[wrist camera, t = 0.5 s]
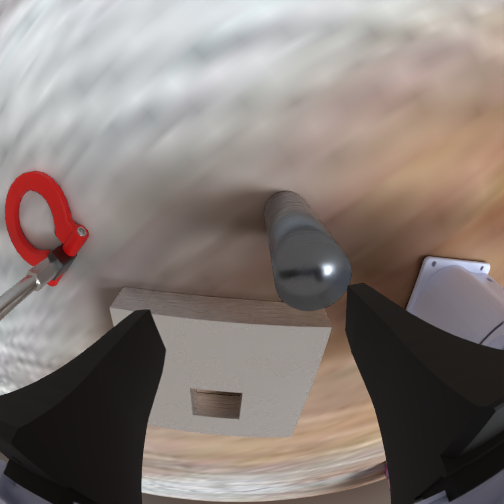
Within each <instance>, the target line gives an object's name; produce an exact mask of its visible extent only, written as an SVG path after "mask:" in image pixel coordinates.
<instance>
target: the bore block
mask: <svg viewBox="0 0 504 504" xmlns="http://www.w3.org/2000/svg"><path fill="white" fill-rule="evenodd" d="M145 309H150V311H151V314H152V316H153V319H154V322H155V324H156V327H157V329H158V331H159V334H160V336H161V339H162V341H163V343H164V346H165V348H166V355H165V362H164V367H163V373H162V376H161V380H160V383H159V386H158V389H157V393H156V396H155V399H154V402H153V406H152V409H151V413H150V416H149V420H148V425H153V426H158V427H163V428H169V429H175V430H182V431H189V432H196V433H205V434H215V435H226V436H242V437H291V435H292V433H293V431H294V429H295V426H296V424H297V422H298V419H299V417H300V414H301V412H302V410H303V407H304V405H305V402H306V400H307V397H308V394H309V392H310V389H311V387H312V384H313V381H314V379H315V376H316V373H317V370H318V368H319V365H320V362H321V359H322V356H323V353H324V350H325V348H326V345H327V342H328V338H329V335H330V332H331V329H332V326H331V323H330V321H329V318H328V315H327V313H326V310H325V308H323V309H320V310H316V311H302V310H297V309H295V308H292V307H290V306H289V305H287V304H286V303H285V302H275V301H260V300H246V299H233V298H222V297H210V296H200V295H190V294H180V293H171V292H162V291H153V290H145V289H137V288H129V287H123V289H122V290H121V292H120V293H119V295H118V296H117V297H116V299H115V300H114V302H113V303H112V305H111V306H110V312H111V317H112V321H113V326H116V325H117V324H118V323H119V322H120V321H122V320H123V319H124V318H125V317H127V316H128V315H129V314H131V313H132V312H134V311H135V310H145ZM196 389H202V390H212V391H223V392H236V393H240V396H229V395H217V394H207V393H198V392H196Z"/></svg>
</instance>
